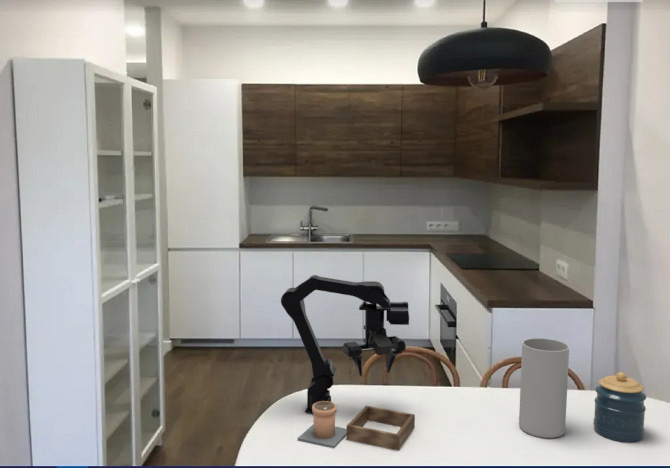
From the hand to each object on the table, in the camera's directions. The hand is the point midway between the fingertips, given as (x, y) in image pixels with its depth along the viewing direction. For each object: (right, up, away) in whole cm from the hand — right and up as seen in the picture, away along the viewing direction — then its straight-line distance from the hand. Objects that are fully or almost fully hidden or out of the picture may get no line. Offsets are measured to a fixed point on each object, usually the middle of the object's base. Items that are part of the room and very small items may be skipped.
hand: (374, 374), depth 175 cm
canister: (+69, -14, -11) cm, 71 cm away
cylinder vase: (+48, -14, -10) cm, 50 cm away
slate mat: (-15, -14, -15) cm, 25 cm away
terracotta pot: (-15, -13, -15) cm, 25 cm away
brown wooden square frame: (+1, -14, -13) cm, 19 cm away
